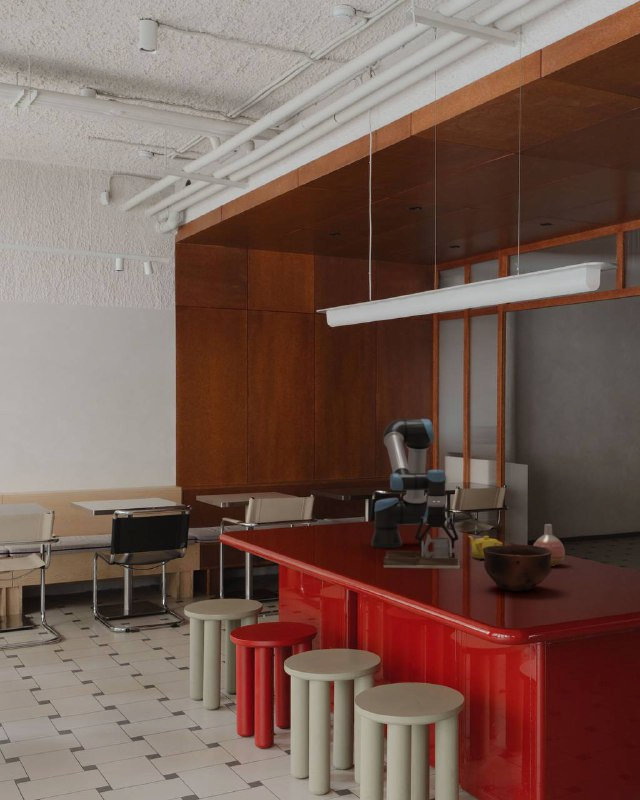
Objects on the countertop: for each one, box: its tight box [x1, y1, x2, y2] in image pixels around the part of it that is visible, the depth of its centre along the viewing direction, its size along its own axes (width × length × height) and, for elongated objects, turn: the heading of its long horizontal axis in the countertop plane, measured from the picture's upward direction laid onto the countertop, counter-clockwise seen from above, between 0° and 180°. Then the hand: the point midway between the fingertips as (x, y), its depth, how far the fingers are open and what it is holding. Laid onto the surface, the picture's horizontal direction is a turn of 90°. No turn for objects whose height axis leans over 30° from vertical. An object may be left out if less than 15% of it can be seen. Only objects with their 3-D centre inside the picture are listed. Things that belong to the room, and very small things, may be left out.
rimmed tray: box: [383, 550, 461, 570], centre depth 392 cm, size 20×32×4 cm, turn 83°
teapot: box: [467, 535, 503, 560], centre depth 406 cm, size 14×13×10 cm
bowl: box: [483, 544, 552, 592], centre depth 335 cm, size 25×25×15 cm
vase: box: [532, 523, 566, 566], centre depth 387 cm, size 14×14×18 cm
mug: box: [423, 533, 450, 558], centre depth 391 cm, size 8×12×12 cm, turn 101°
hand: (436, 556), depth 391 cm, fingers closed on mug, 11 cm apart
